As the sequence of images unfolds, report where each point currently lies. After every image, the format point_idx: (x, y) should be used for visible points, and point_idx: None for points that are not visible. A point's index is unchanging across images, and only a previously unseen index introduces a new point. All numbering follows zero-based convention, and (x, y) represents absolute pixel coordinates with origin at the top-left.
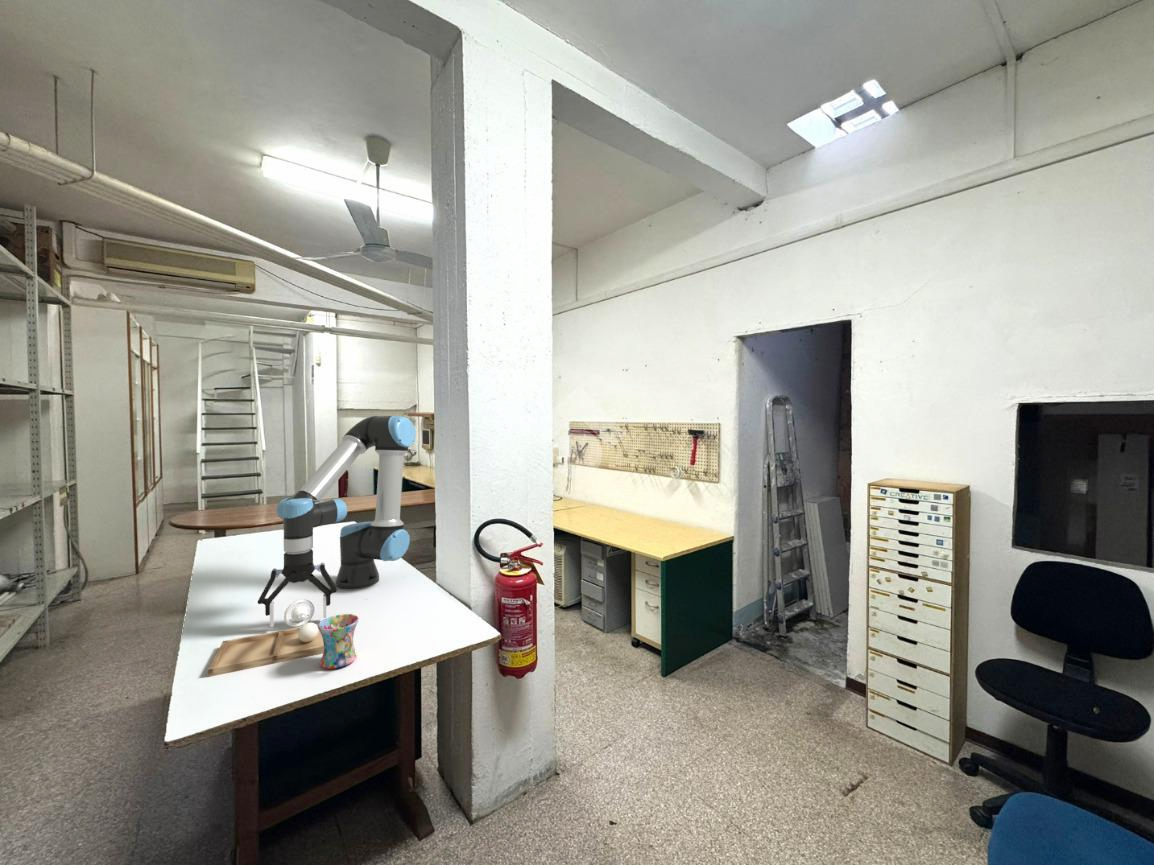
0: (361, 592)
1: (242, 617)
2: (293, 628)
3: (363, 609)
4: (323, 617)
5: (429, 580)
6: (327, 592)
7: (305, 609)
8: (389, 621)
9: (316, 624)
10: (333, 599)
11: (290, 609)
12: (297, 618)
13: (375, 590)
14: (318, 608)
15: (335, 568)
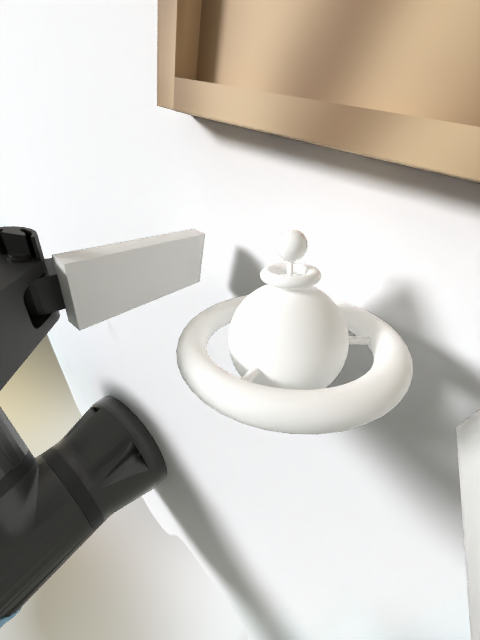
0: (123, 380)
1: (470, 637)
2: (421, 161)
3: None
4: (201, 234)
5: None
6: (2, 262)
7: (239, 311)
8: (25, 12)
9: (249, 118)
10: (175, 412)
11: (339, 385)
12: (323, 293)
13: (100, 359)
14: None
15: (163, 523)
